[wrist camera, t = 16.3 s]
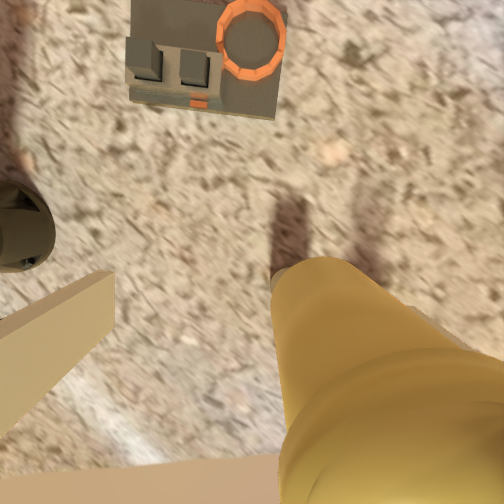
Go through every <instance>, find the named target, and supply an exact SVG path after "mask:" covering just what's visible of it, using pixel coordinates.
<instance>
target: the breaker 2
mask: <svg viewBox="0 0 504 504" xmlns="http://www.w3.org/2000/svg"><path fill="white" fill-rule="evenodd" d="M209 73H210V63H209V61H208V58H207V55H206V52H201V51H193V50H185V49H181V51H180V70H179V77H180V79H181V80H182V82H183V83H184V85H186V86H194V87H202V88H208V86H209Z"/></svg>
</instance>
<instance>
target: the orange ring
mask: <svg viewBox="0 0 504 504" xmlns="http://www.w3.org/2000/svg"><path fill="white" fill-rule="evenodd" d="M245 11H255V12H262V13H263V14H264V15H265V16H267V17H268V18H269V19H270V20H271V21H272V22H273V23H274V25H275V28H276V31H277V33H278V36H279V45H278V51H277V52H276V54H275V55H274V57H273V58H272V60H271V61H270V63H269V64H267V65H265V66H263V67H260V68H258V69H256V70H251V69H243V68H240V67H238V66H237V65H236V64H235V63H233V62H232V61H231V60H230V59H229V58H228V56H227V54H226V51H225V49H224V46H223V44H224V32H225V30H226V28H227V27H228V25H229V23H230V22H231V20H232V19H233V17H235V16H237V15H239V14H241V13H243V12H245ZM286 32H287V31H286V28H285V25H284V22H283V19H282V17H281V14H280V11H279V10H278V9H277V8H275V7H274V6H273V5H272V4H271V3H270V2H269V1H267V0H236V1H234V2H232V3H230V4H228V6H227V7H226V9H225V11H224V12H223V14H222V15H221V17H220V19H219V20H218V22H217V34H216V46H217V50H218V52H219V53H223V56H224V64H225V68H226V69H227V70H228V71H230V72H231V73H232V74H233V75H235V76H236V77H237V78H238V79H243V80H251V81H257V80H259V79H261V78H264V77H266V76H268V75H270V74H272V73H273V71H274V70H275V68H276V67H277V65H278V64H279V62H280V61H281V59H282V58H283V54H284V48H285V40H286Z"/></svg>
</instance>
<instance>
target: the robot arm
mask: <svg viewBox="0 0 504 504" xmlns="http://www.w3.org/2000/svg"><path fill="white" fill-rule="evenodd" d="M55 236H56V232H55V224H54V220H53V217H52V215H51V213H50V211H49V209H48V207H47V206H46V204H45V203H44V202H43V200H42V199H41V198H40V197H39V196H38V195H37V194H36V193H35V192H33V191H32V190H31V189H29V188H28V187H26V186H24V185H22V184H20V183H17V182H14V181H10V180H4V179H0V273H17V272H23V271H26V270H29V269H32V268H35V267H37V266H39V265H40V264H41V263H43V262H44V261H45V260H46V259H47V258H48V256H49V255H50V253H51V252H52V249H53V247H54V243H55ZM406 306H407V305H406ZM407 307H408V308H410V309H411V310H412V311H413V312H415V313H416V314H417V315H419V316H420V317H421V318H423V319H424V320H425V321H427V322H428V323H429V324H430V325H432V326H433V327H434V328H436V329H437V330H438V331H440V332H441V333H442V334H444V335H445V336H446V337H447V338H449V339H450V340H451V341H453V342H454V343H455V344H457V345H458V346H459V347H460V348H462V349H463V350H468V351H474V352H476V351H475V350H473V349H472V348H471V347H469V346H468V345H467V344H465V343H464V342H462V341H461V340H460V339H458V338H457V337H456V336H454V335H453V334H452V333H450V332H449V331H447V330H446V329H445V328H443V327H442V326H441V325H439V324H438V323H436V322H435V321H434V320H432V319H431V318H430V317H428V316H427V315H425V314H424V313H423V312H421V311H420V310H419V309H417V308H416V307H414V306H407ZM114 324H115V272H111V271H103V270H97V271H95V272H93V273H91V274H89V275H87V276H85V277H83V278H81V279H79V280H77V281H75V282H74V283H72V284H70V285H68V286H66V287H64V288H62V289H60V290H58V291H56V292H54V293H52V294H50V295H48V296H46V297H44V298H42V299H40V300H38V301H36V302H35V303H33V304H31V305H29V306H27V307H25V308H23V309H21V310H19V311H17V312H15V313H13V314H11V315H9V316H7V317H5V318H2V319H0V439H1V438H2V437H3V436H4V435H5V434H6V433H7V432H8V431H9V430H10V429H11V428H12V427H13V426H14V425H15V424H16V423H17V422H18V421H19V420H20V419H21V418H22V417H23V416H24V415H25V414H26V413H27V412H28V411H29V410H30V409H31V408H32V407H33V406H34V405H35V404H36V403H37V402H38V401H39V400H41V399H42V398H43V397H44V396H45V395H46V394H47V393H48V392H49V391H50V390H51V389H52V388H53V387H54V386H55V385H56V384H57V383H58V382H59V381H60V380H61V379H62V378H63V377H64V376H65V375H66V374H67V373H68V372H69V371H70V370H71V369H72V368H73V367H74V366H75V365H76V364H77V363H78V362H79V361H80V360H81V359H82V358H83V357H84V356H85V355H86V354H87V353H88V352H89V351H90V350H91V349H92V348H94V347H95V346H96V345H97V344H98V343H99V342H100V341H101V340H102V339H103V338H104V337H105V336H106V335H107V334H108V333H109V332H110V331H111V330H112V329H113V328H114Z"/></svg>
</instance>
